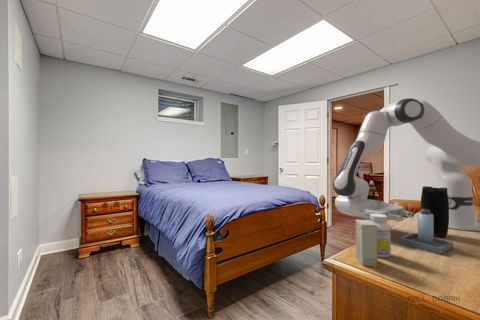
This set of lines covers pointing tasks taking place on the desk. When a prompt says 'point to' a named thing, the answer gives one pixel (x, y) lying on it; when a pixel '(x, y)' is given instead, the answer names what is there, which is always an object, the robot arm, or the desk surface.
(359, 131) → the robot arm
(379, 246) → the supplement bottle
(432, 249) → the box
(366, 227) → the skincare box
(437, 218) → the portable speaker
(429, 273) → the desk surface
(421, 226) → the blue bottle
